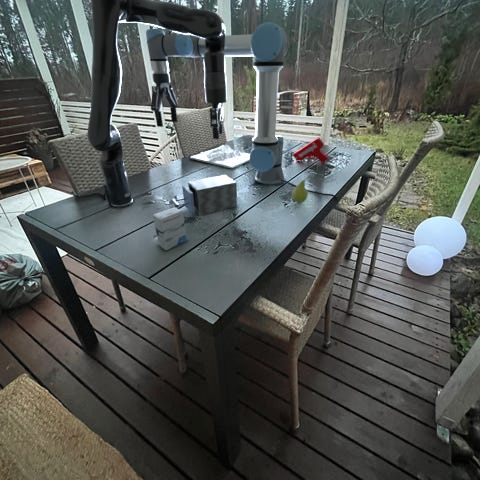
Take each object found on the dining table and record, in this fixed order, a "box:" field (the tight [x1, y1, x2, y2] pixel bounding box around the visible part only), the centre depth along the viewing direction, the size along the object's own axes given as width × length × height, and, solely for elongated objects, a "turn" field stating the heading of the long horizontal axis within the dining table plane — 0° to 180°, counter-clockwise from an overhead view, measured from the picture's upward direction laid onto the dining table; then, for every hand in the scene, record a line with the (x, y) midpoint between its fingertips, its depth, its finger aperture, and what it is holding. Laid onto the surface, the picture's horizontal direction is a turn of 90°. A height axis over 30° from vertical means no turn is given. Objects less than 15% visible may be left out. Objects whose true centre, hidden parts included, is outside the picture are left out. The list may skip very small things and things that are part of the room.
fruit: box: [291, 174, 311, 204], centre depth 118 cm, size 7×8×12 cm
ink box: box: [152, 206, 187, 251], centre depth 91 cm, size 8×5×12 cm, turn 135°
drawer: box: [170, 184, 199, 215], centre depth 113 cm, size 22×10×9 cm, turn 119°
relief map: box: [190, 144, 250, 169], centre depth 178 cm, size 27×35×5 cm
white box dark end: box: [187, 174, 238, 216], centre depth 116 cm, size 17×11×11 cm, turn 119°
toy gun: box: [293, 136, 329, 165], centre depth 169 cm, size 18×4×15 cm
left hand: (217, 136), depth 103 cm, fingers open, 8 cm apart
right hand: (167, 124), depth 132 cm, fingers open, 13 cm apart
